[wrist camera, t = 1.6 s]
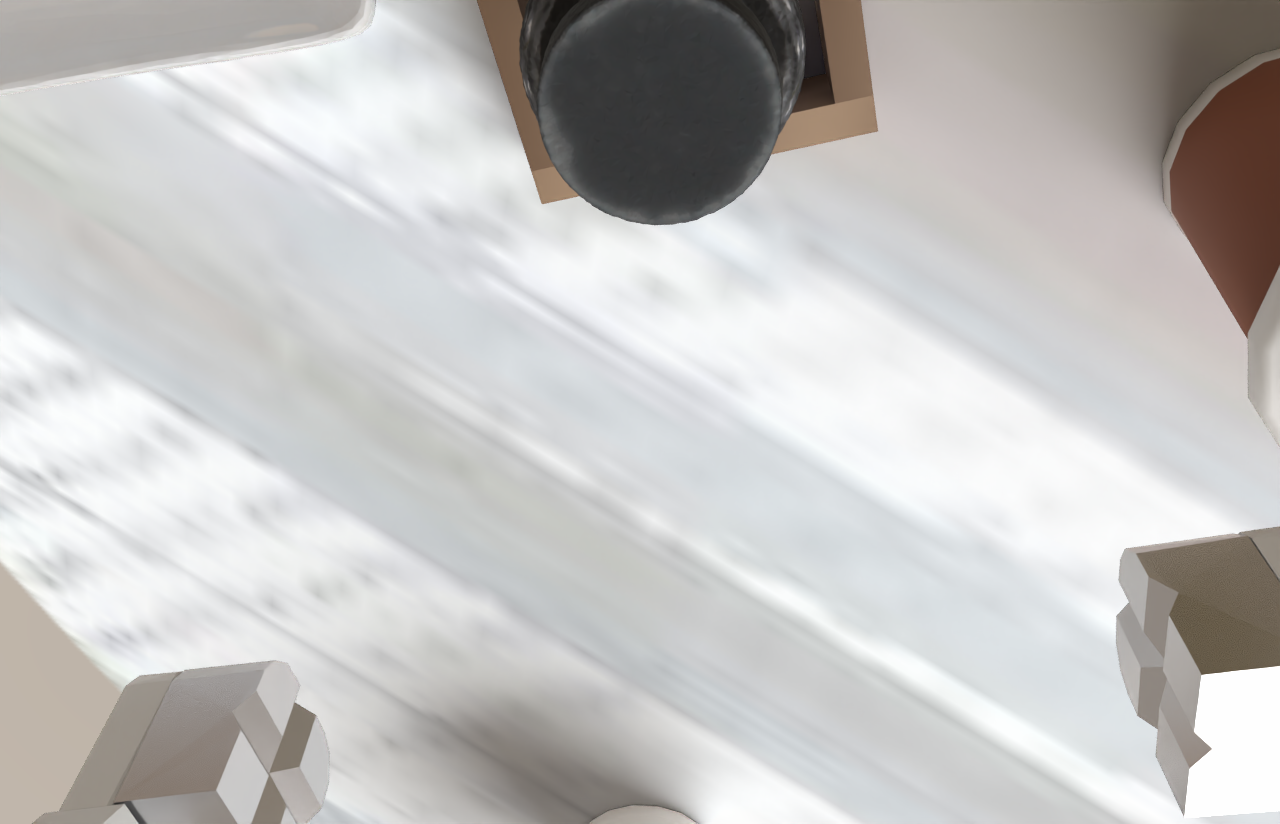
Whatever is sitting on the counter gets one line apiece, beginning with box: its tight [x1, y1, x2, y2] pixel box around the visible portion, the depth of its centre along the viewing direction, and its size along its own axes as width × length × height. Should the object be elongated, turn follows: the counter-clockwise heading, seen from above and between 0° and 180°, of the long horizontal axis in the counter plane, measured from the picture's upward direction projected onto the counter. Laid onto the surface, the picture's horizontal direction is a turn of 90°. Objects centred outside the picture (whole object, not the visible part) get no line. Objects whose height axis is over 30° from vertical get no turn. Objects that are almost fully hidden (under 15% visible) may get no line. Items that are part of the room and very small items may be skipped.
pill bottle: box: [519, 0, 806, 225], centre depth 25 cm, size 6×6×11 cm
